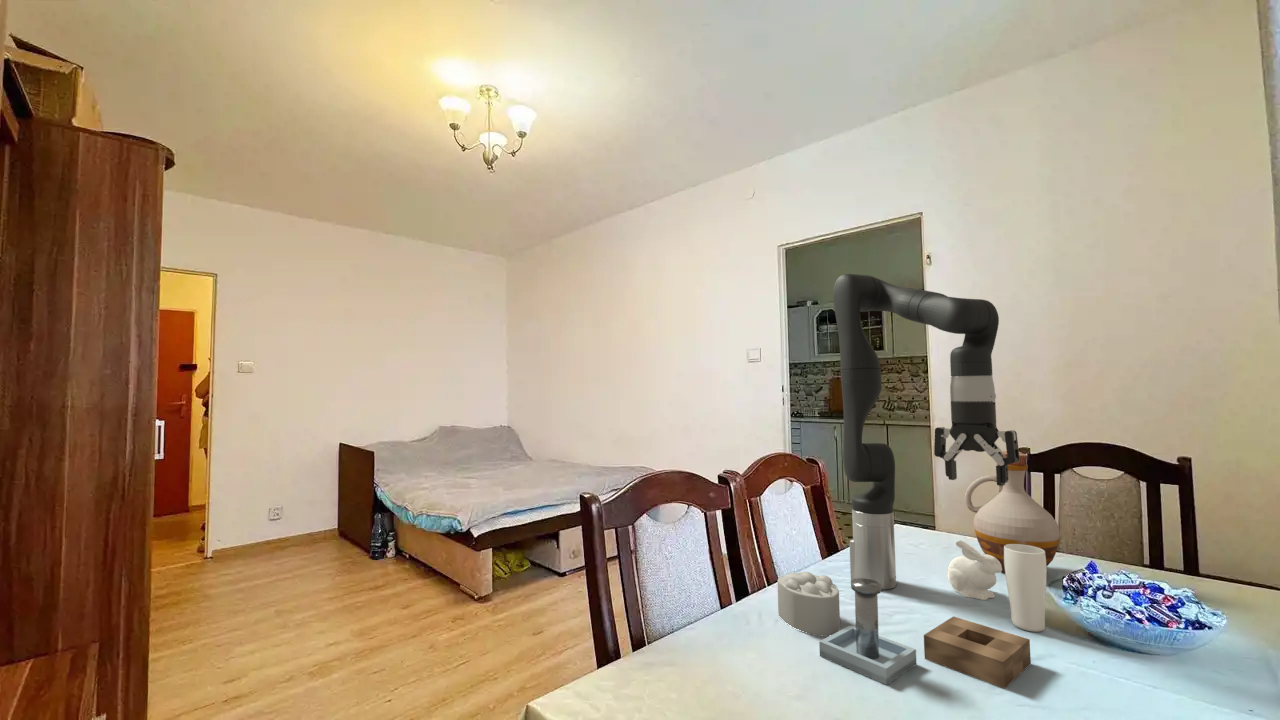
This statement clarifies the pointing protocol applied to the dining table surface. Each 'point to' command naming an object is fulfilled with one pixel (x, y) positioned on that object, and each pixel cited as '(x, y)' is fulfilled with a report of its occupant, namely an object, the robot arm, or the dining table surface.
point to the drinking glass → (1026, 585)
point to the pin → (866, 616)
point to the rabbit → (973, 572)
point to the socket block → (978, 651)
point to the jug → (1012, 517)
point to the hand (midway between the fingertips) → (976, 482)
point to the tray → (882, 669)
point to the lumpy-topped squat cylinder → (809, 603)
